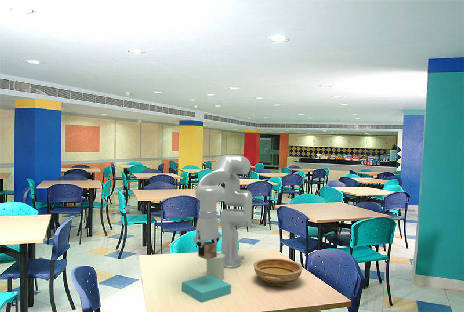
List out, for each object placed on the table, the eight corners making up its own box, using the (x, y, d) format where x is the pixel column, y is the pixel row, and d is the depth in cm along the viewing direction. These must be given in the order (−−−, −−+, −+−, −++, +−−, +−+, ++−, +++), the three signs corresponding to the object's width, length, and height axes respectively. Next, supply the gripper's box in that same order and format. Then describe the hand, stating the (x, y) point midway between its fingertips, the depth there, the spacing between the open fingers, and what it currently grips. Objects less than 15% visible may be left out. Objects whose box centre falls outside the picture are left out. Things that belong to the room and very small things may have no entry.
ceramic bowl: (261, 269, 198) (261, 254, 198) (306, 275, 190) (306, 260, 190) (245, 288, 170) (245, 271, 170) (297, 296, 162) (297, 279, 162)
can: (226, 276, 187) (227, 253, 186) (220, 282, 178) (220, 258, 178) (210, 273, 190) (210, 251, 189) (203, 279, 181) (203, 255, 181)
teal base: (210, 282, 177) (210, 274, 177) (230, 293, 165) (231, 284, 164) (181, 290, 167) (182, 281, 167) (201, 302, 154) (201, 293, 154)
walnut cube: (208, 253, 170) (209, 241, 169) (216, 257, 165) (216, 243, 165) (198, 256, 166) (198, 243, 166) (205, 259, 161) (206, 246, 161)
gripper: (218, 211, 173) (217, 249, 174) (187, 215, 162) (186, 255, 163) (227, 214, 167) (227, 253, 168) (196, 218, 157) (196, 259, 157)
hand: (207, 253), depth 165 cm, fingers closed on walnut cube, 6 cm apart
